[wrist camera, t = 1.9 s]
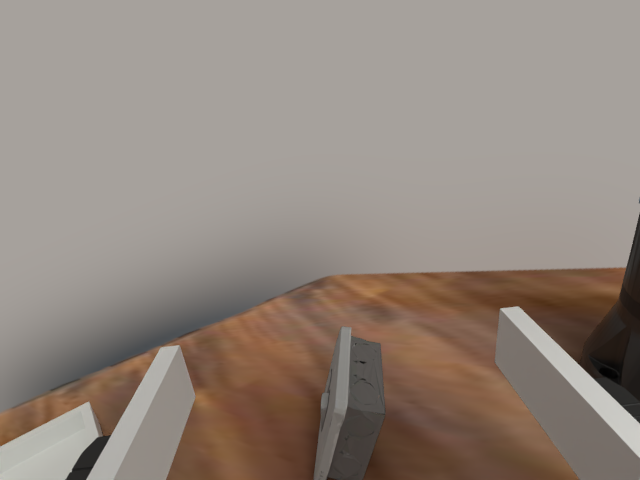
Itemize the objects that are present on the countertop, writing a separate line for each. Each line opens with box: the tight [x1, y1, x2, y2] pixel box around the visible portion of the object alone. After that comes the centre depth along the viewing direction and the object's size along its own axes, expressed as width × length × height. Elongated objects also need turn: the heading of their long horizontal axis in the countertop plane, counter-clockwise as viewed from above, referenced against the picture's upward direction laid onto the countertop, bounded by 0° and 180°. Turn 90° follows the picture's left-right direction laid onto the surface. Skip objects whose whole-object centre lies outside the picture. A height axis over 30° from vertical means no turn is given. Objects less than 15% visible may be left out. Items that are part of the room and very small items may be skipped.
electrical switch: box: [314, 327, 385, 480], centre depth 30 cm, size 9×5×9 cm, turn 174°
